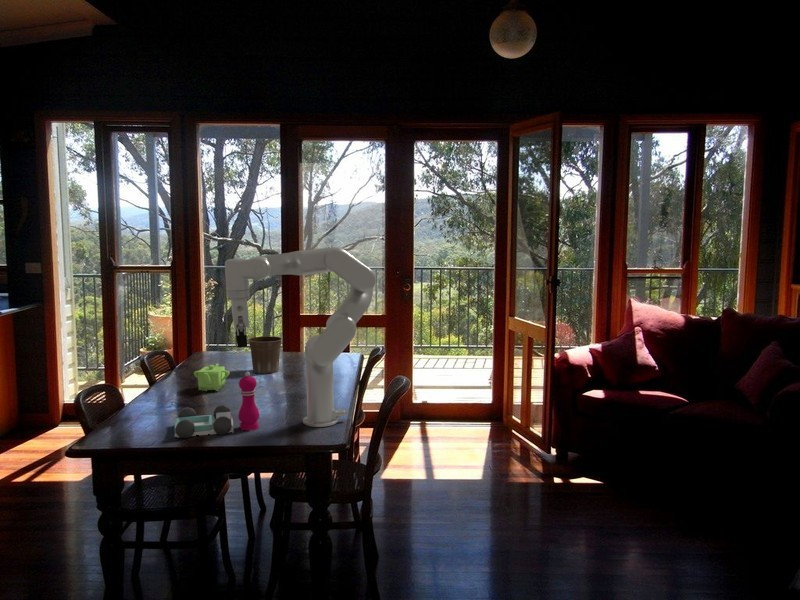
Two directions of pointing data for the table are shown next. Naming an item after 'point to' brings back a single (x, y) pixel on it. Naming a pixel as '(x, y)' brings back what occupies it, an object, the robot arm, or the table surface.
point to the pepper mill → (248, 403)
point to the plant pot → (265, 353)
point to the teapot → (211, 377)
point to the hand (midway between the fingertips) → (241, 344)
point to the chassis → (203, 422)
